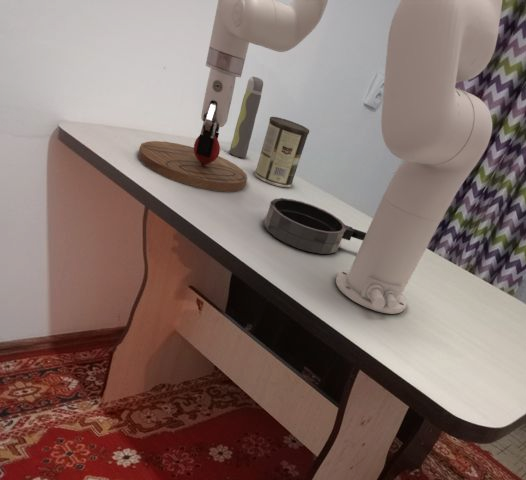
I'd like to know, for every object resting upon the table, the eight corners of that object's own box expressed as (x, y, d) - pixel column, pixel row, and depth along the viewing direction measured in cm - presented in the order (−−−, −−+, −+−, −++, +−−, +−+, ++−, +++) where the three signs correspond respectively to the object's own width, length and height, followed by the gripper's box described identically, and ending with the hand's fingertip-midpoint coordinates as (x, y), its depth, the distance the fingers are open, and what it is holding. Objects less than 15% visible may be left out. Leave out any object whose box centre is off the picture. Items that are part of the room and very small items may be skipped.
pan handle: (396, 255, 92) (401, 246, 91) (340, 237, 91) (344, 227, 90) (394, 251, 94) (398, 241, 93) (339, 233, 93) (343, 223, 92)
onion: (211, 171, 103) (219, 134, 99) (187, 163, 103) (194, 125, 99) (218, 167, 108) (226, 131, 103) (195, 158, 108) (202, 122, 103)
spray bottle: (240, 153, 134) (260, 77, 123) (248, 159, 131) (269, 82, 120) (226, 151, 131) (245, 73, 120) (233, 157, 128) (253, 77, 117)
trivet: (117, 145, 105) (118, 136, 104) (204, 153, 122) (206, 146, 121) (178, 190, 92) (180, 180, 91) (265, 193, 109) (268, 185, 108)
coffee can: (277, 174, 127) (293, 120, 120) (298, 189, 121) (317, 133, 113) (246, 170, 121) (262, 113, 113) (268, 185, 115) (286, 126, 107)
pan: (341, 263, 87) (350, 241, 84) (262, 238, 85) (269, 215, 82) (334, 234, 100) (342, 214, 97) (265, 212, 98) (271, 191, 95)
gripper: (238, 72, 87) (216, 166, 97) (245, 67, 102) (226, 149, 112) (200, 58, 86) (182, 154, 96) (213, 55, 101) (195, 139, 111)
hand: (205, 151), depth 104 cm, fingers open, 6 cm apart
